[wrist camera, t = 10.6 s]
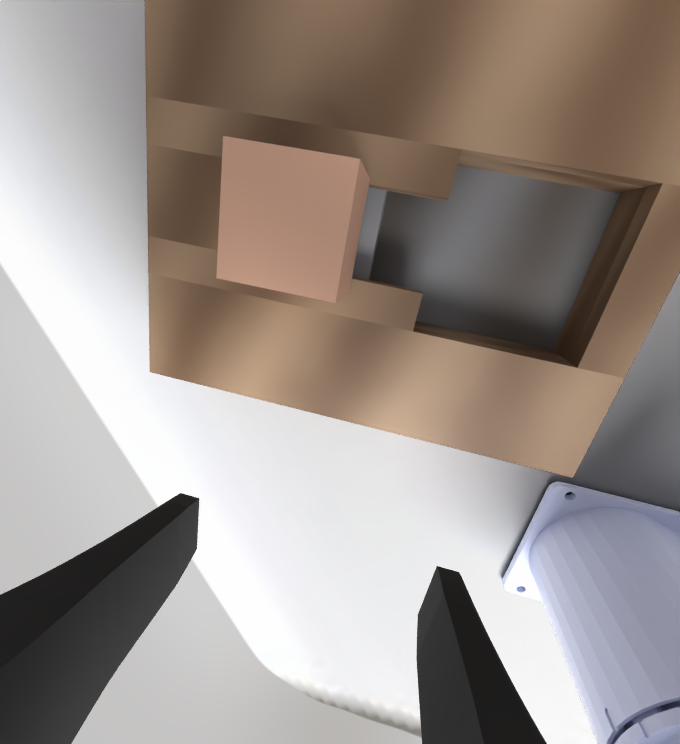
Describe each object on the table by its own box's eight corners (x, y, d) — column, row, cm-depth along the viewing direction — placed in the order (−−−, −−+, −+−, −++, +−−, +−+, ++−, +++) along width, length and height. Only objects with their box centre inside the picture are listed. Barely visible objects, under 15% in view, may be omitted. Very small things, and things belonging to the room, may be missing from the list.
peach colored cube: (390, 179, 15) (382, 140, 9) (366, 297, 17) (347, 321, 11) (277, 159, 15) (207, 112, 10) (265, 276, 17) (201, 290, 12)
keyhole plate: (721, 58, 12) (821, -1, 10) (545, 440, 18) (572, 478, 15) (197, -13, 14) (143, -80, 11) (187, 353, 20) (149, 372, 17)
